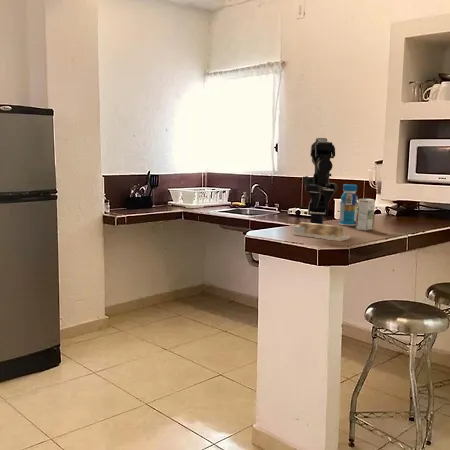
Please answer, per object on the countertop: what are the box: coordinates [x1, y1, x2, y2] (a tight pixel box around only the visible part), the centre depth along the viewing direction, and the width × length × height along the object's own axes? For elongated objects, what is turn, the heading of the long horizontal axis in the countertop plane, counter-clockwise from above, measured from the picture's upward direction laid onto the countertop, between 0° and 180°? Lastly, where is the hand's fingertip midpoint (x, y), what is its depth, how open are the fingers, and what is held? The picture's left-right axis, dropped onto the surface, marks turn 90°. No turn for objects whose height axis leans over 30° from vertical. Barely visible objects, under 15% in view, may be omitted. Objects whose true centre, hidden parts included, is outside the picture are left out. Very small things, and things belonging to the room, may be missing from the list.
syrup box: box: [355, 198, 376, 231], centre depth 258 cm, size 6×6×14 cm
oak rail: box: [298, 221, 344, 237], centre depth 233 cm, size 18×4×4 cm, turn 58°
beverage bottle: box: [338, 183, 359, 227], centre depth 272 cm, size 8×8×20 cm
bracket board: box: [292, 224, 351, 242], centre depth 233 cm, size 10×22×4 cm, turn 51°
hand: (320, 207), depth 240 cm, fingers open, 9 cm apart
